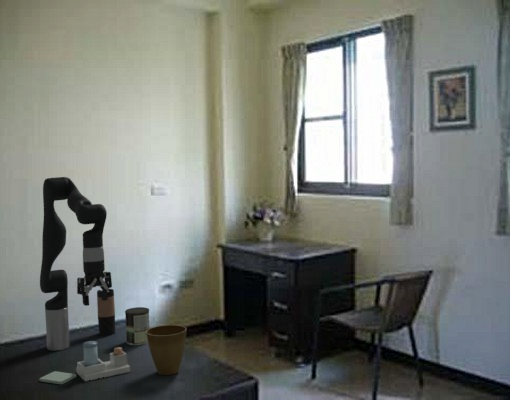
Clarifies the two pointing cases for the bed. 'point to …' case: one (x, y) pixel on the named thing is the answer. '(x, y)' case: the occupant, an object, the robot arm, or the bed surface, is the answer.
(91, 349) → the blue-grey elongated rounded piece
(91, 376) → the housing
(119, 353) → the plunger
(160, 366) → the plant pot
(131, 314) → the coffee can
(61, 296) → the robot arm
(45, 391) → the bed surface
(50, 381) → the mat
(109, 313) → the travel mug
